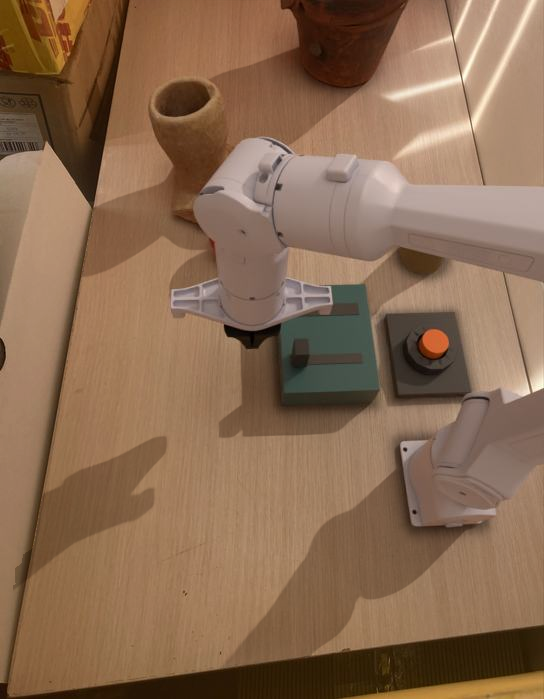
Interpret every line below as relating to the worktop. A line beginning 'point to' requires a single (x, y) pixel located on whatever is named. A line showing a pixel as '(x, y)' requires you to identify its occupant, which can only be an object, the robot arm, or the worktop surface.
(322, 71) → the brown plant pot
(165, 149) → the tan hollow curved piece
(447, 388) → the block
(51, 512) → the worktop surface
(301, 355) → the slider knob
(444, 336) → the button
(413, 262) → the olive pawn
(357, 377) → the green slider box
